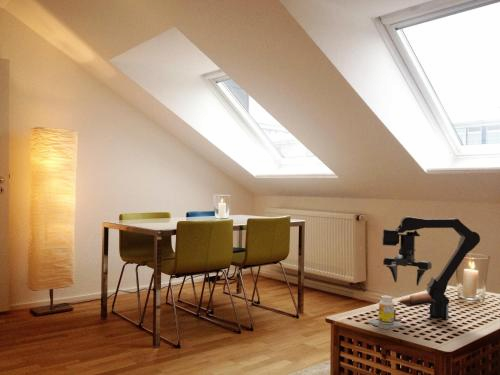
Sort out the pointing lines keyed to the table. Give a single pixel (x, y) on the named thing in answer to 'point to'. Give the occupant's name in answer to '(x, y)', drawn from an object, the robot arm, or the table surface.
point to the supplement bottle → (386, 310)
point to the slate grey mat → (385, 326)
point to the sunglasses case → (416, 299)
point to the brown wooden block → (396, 316)
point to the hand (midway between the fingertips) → (406, 283)
